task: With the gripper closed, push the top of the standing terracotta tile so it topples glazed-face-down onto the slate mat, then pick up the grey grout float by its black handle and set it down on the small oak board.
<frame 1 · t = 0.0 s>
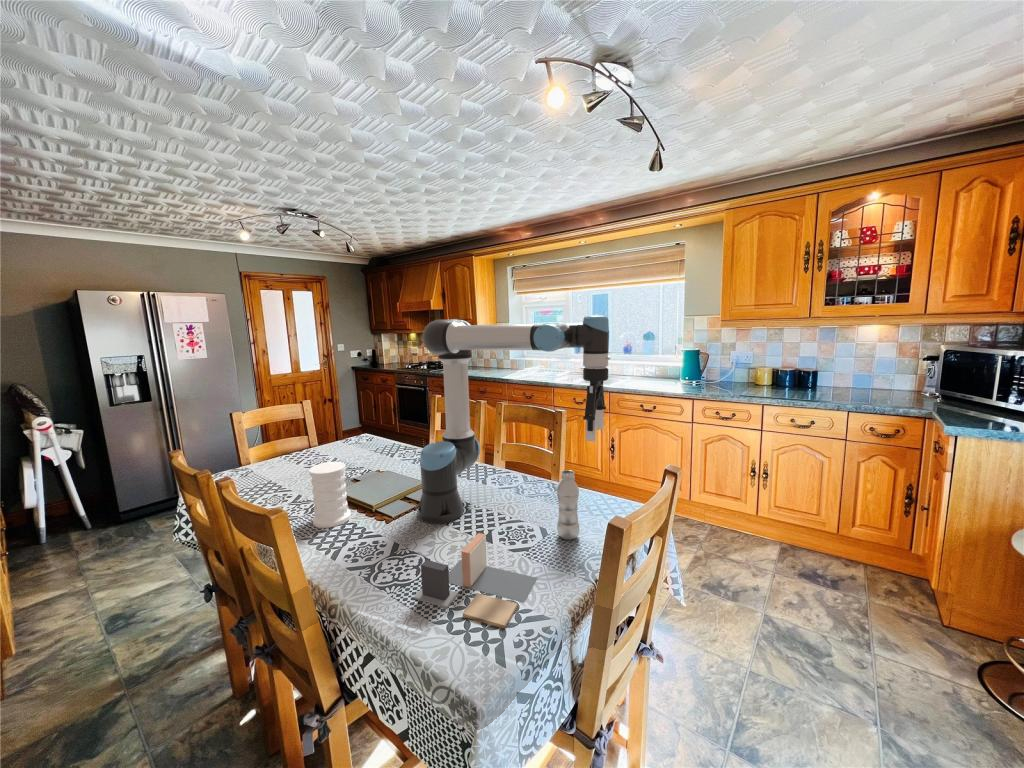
hand: (595, 435, 125), 28 cm above the table, fingers open, 13 cm apart
board: (490, 613, 88), on the table
tile: (475, 575, 101), resting on mat
decorative container: (332, 519, 133), on the table
grout float: (436, 598, 94), on the table
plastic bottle: (568, 537, 119), on the table
mat: (489, 581, 99), on the table
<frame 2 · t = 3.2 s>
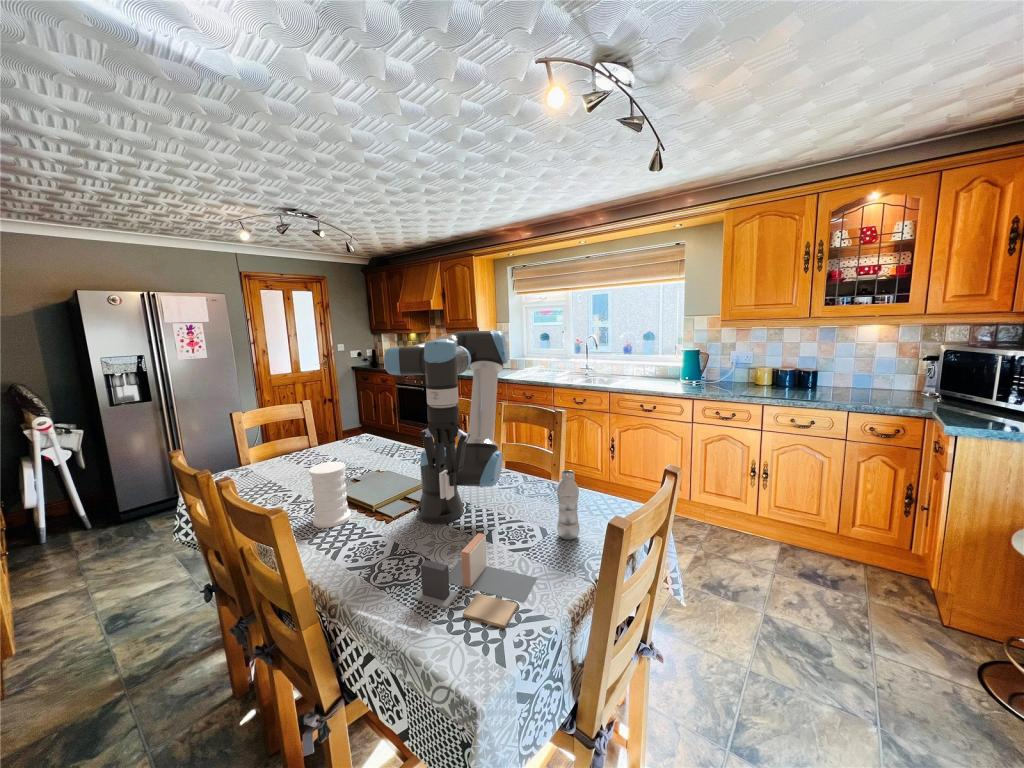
hand: (447, 496, 100), 20 cm above the table, fingers closed
nothing on the table moved.
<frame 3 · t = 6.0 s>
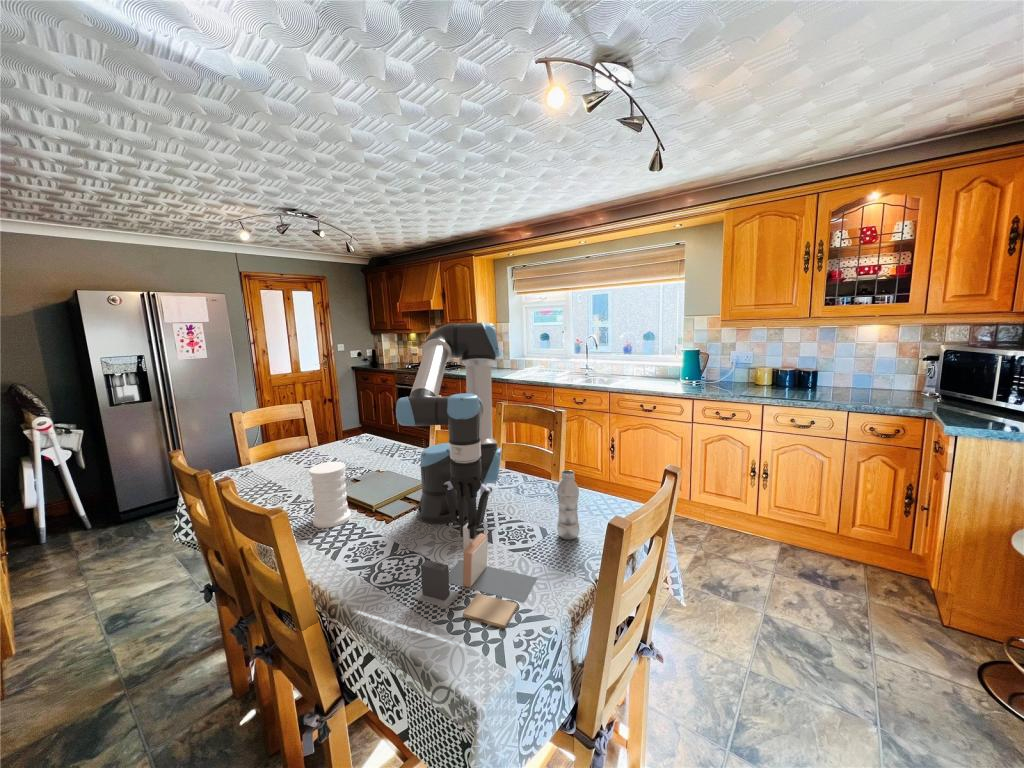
hand: (469, 549, 100), 8 cm above the table, fingers closed
tile: (475, 575, 101), point 1 cm above the table, touching gripper, mat
everything else where it was.
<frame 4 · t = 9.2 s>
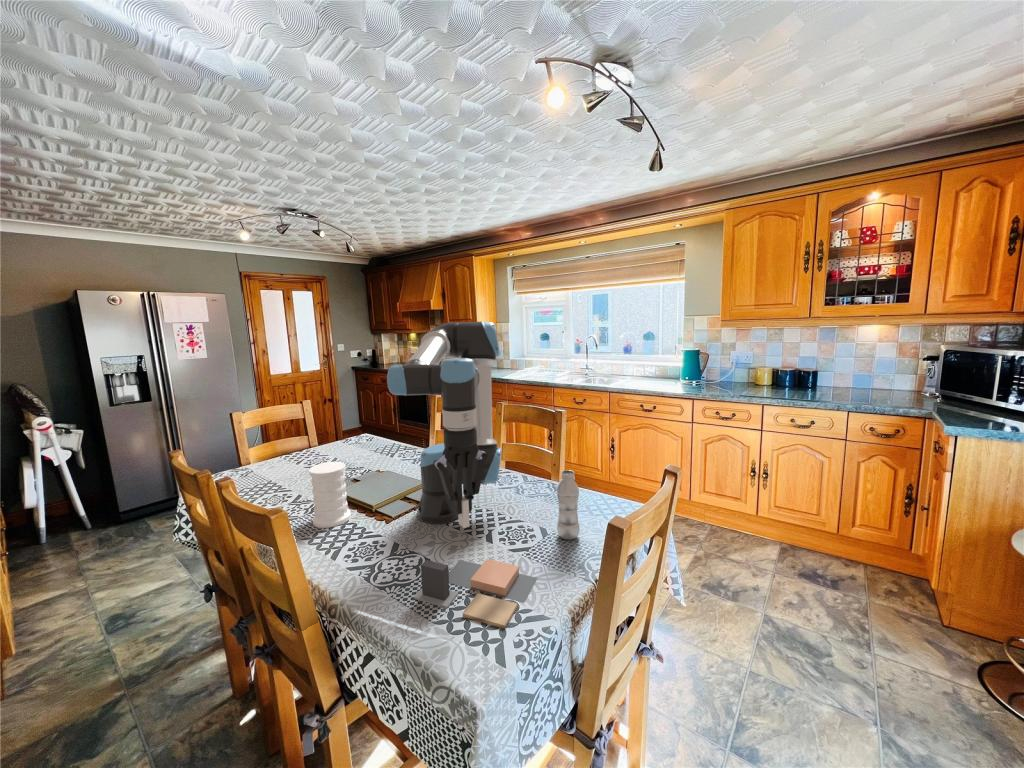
hand: (464, 524, 94), 17 cm above the table, fingers closed
tile: (479, 572, 100), point 2 cm above the table, tilted 90°, touching mat
everything else where it was.
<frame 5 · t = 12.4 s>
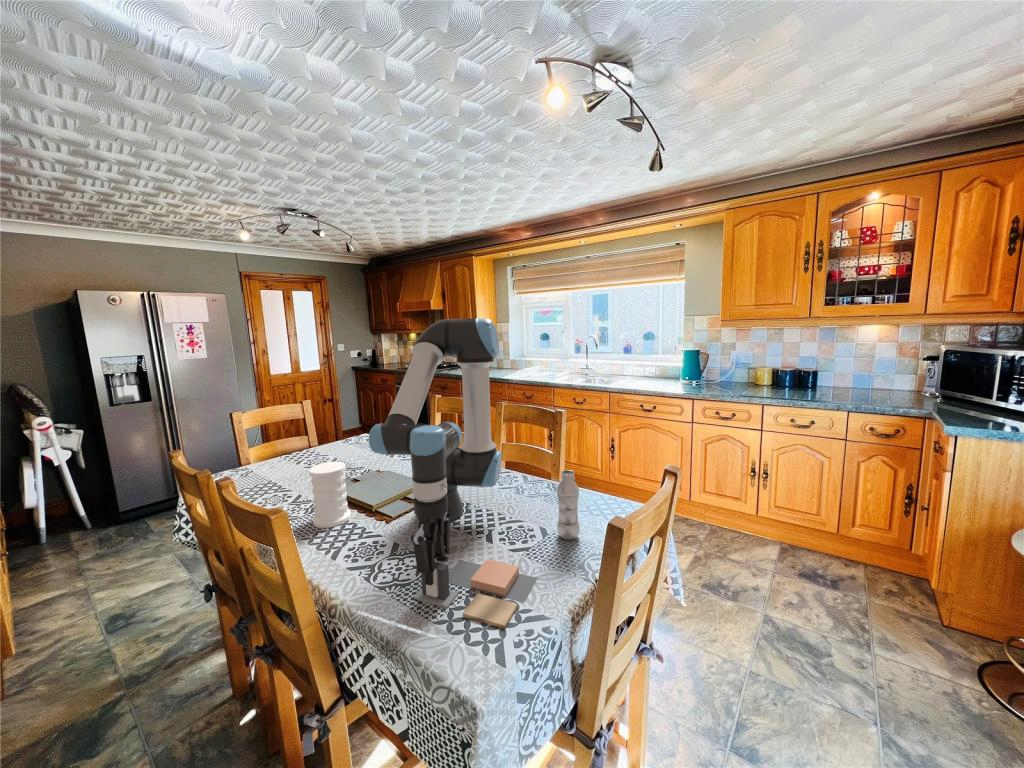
hand: (435, 591, 93), 2 cm above the table, fingers closed on grout float, 2 cm apart
grout float: (436, 598, 93), on the table, touching gripper
everything else where it was.
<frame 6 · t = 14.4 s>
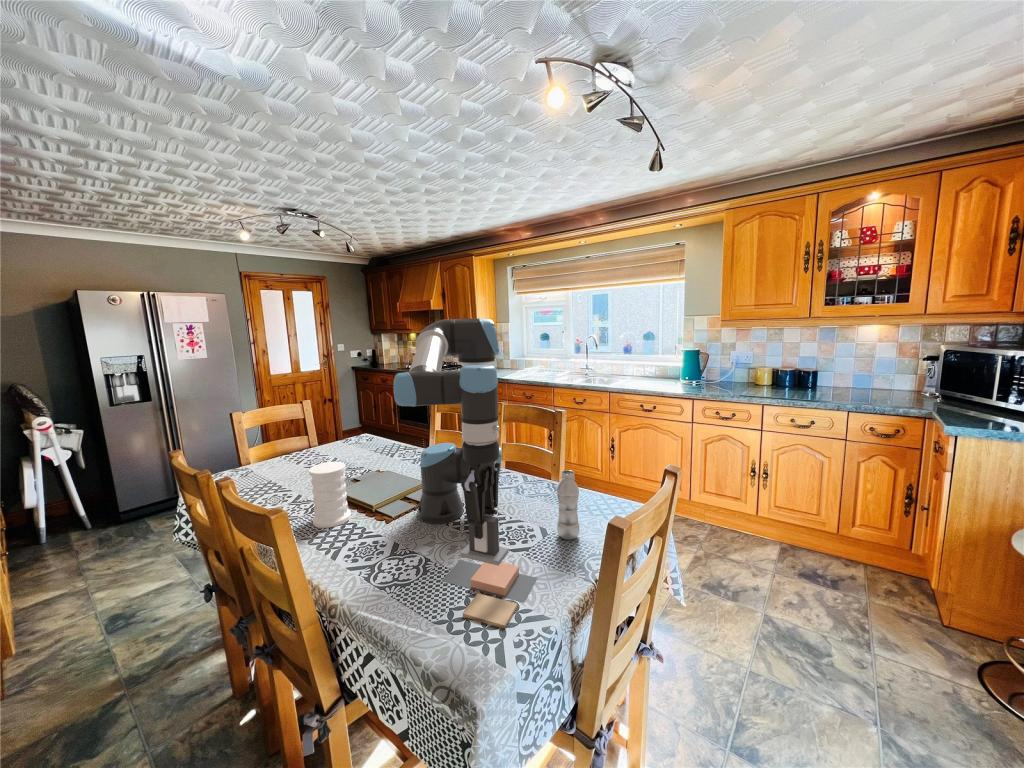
hand: (484, 546, 86), 16 cm above the table, fingers closed on grout float, 2 cm apart
grout float: (484, 554, 86), point 14 cm above the table, touching gripper
everything else where it was.
when the fingers open (5 cm above the table, at t = 16.6 s): grout float drops 1 cm, resting on board.
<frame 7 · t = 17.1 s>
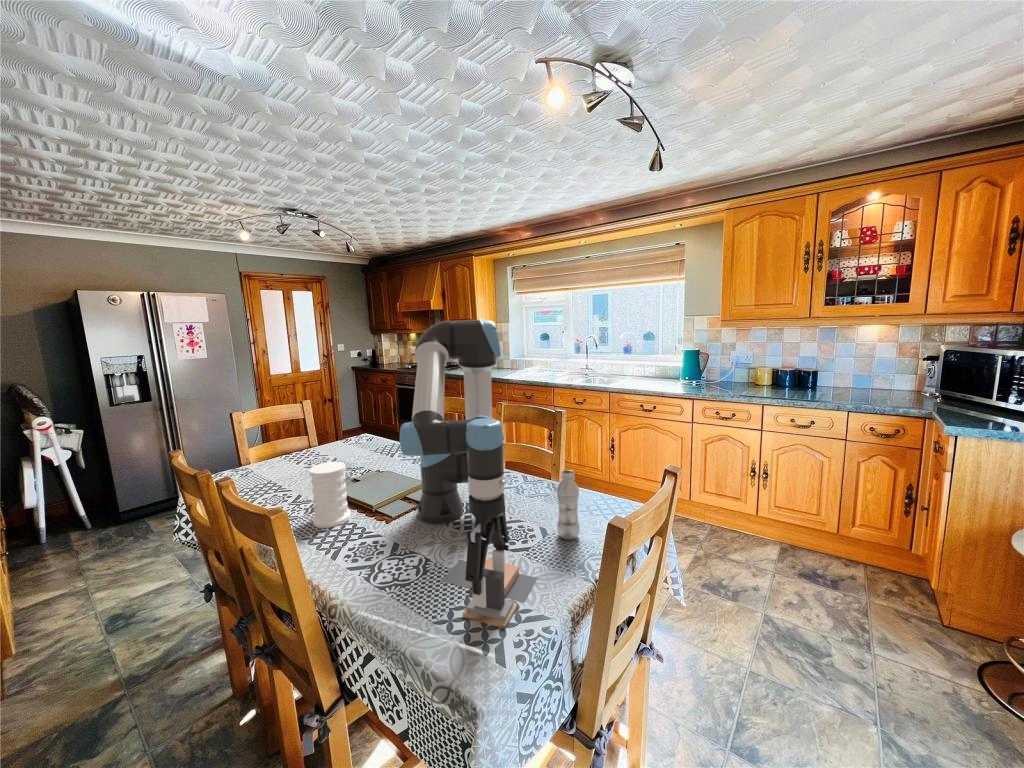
hand: (489, 590, 87), 6 cm above the table, fingers open, 9 cm apart
grout float: (490, 608, 88), point 1 cm above the table, touching board
everything else where it was.
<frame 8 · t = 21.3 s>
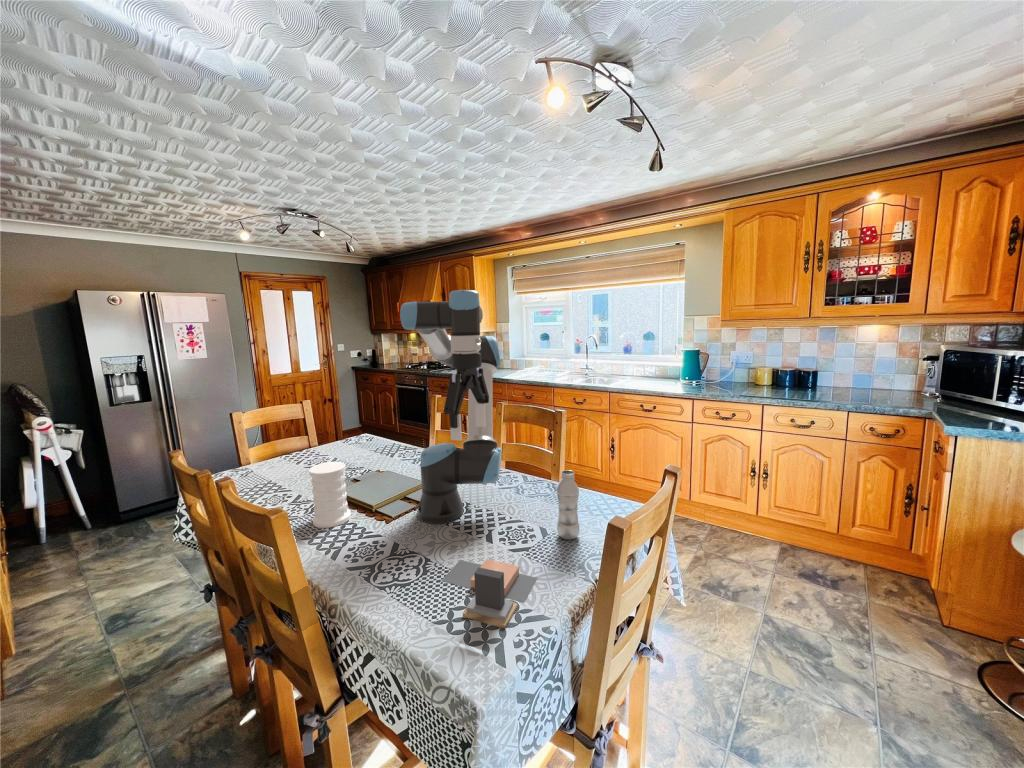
hand: (469, 432, 106), 35 cm above the table, fingers open, 13 cm apart
nothing on the table moved.
at the end: tile tilted 90°; grout float inside the target area on the board (0.1 cm from its centre), point 1.2 cm above the board's base; grout float tilted 0° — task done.
